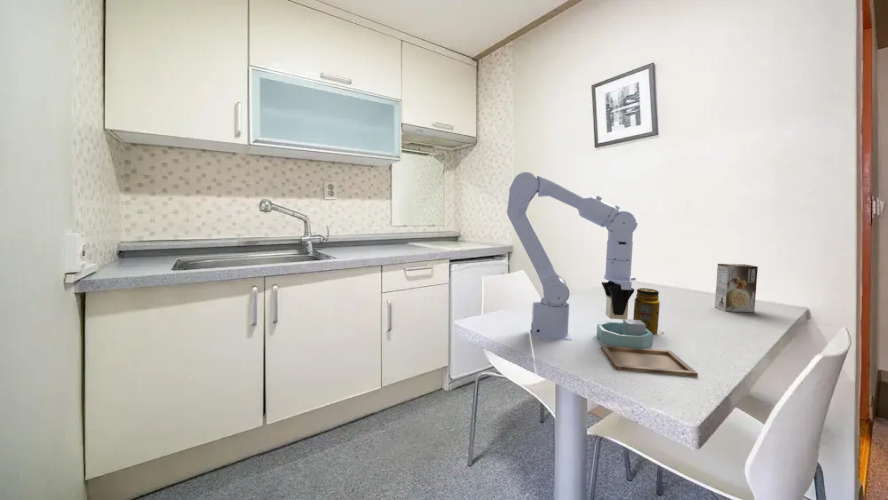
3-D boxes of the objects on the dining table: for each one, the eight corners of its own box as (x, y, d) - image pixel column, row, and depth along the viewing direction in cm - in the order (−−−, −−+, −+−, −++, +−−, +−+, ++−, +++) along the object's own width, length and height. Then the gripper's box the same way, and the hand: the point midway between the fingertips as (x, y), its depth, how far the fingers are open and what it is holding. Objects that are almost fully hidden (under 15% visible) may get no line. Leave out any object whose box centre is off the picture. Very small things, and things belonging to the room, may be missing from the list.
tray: (615, 371, 70) (615, 366, 70) (600, 350, 82) (601, 345, 82) (697, 379, 68) (697, 373, 67) (670, 355, 79) (670, 350, 79)
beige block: (609, 318, 86) (611, 299, 85) (605, 314, 90) (606, 295, 89) (627, 319, 85) (628, 300, 85) (622, 315, 89) (623, 296, 89)
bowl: (604, 348, 83) (605, 334, 83) (593, 332, 94) (594, 320, 94) (657, 352, 81) (658, 338, 81) (639, 336, 92) (640, 323, 92)
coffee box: (742, 308, 124) (746, 264, 122) (754, 312, 117) (759, 266, 116) (713, 306, 125) (717, 263, 124) (724, 311, 119) (728, 265, 117)
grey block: (622, 337, 89) (623, 319, 89) (639, 339, 88) (640, 320, 88) (626, 343, 85) (628, 323, 85) (644, 344, 84) (645, 324, 84)
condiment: (664, 333, 95) (667, 290, 94) (648, 338, 91) (651, 294, 89) (637, 326, 101) (639, 286, 100) (621, 331, 97) (624, 289, 95)
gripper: (647, 263, 78) (643, 321, 80) (626, 256, 92) (623, 306, 94) (614, 262, 80) (610, 319, 81) (598, 255, 94) (596, 304, 95)
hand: (615, 312), depth 87 cm, fingers closed on beige block, 4 cm apart
